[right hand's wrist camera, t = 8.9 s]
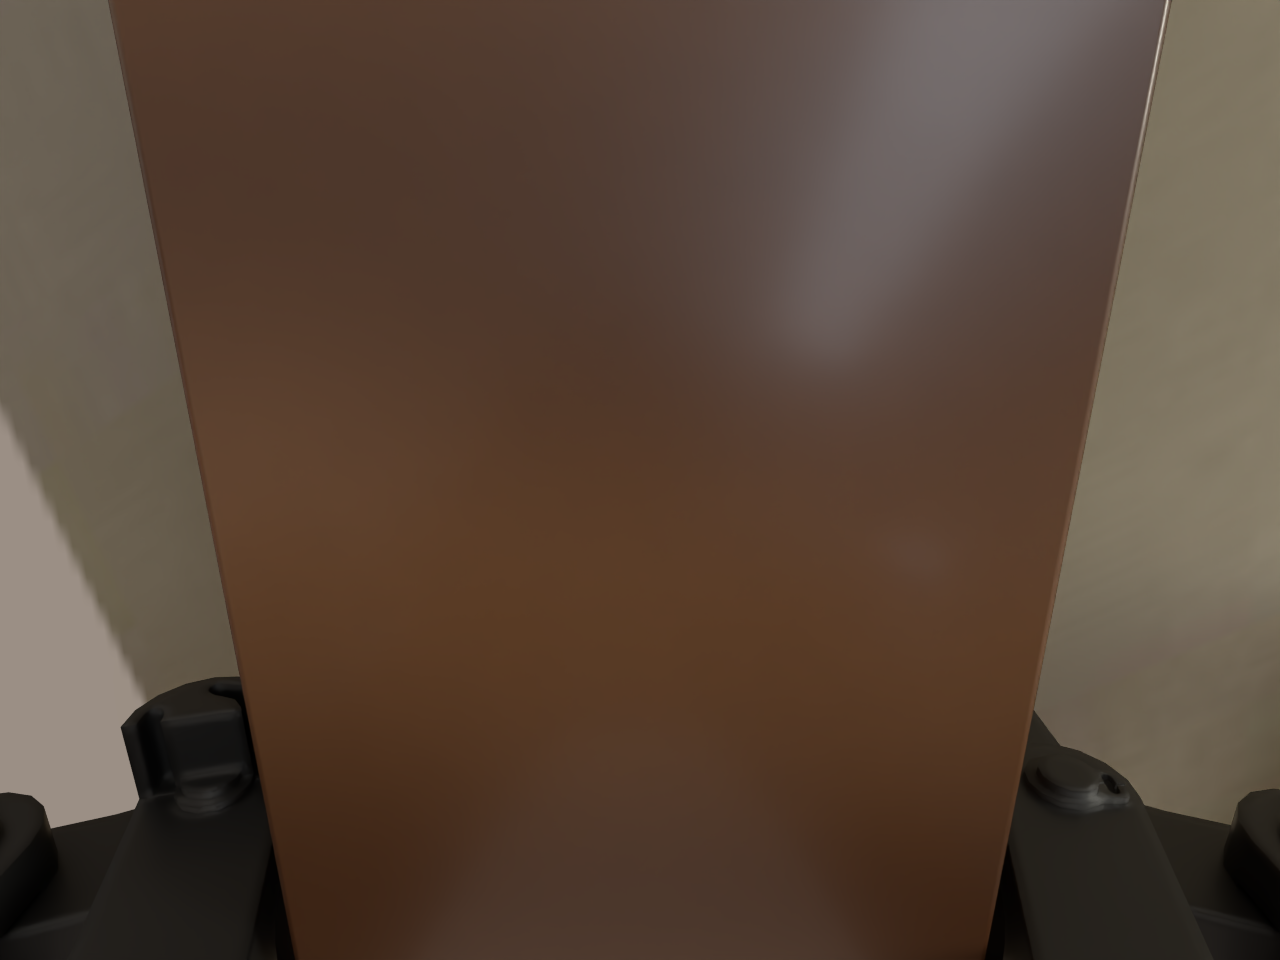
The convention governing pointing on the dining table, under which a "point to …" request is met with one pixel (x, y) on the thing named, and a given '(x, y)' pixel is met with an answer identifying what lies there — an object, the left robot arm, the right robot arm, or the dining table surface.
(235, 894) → the right robot arm
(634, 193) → the walnut bar
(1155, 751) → the dining table surface
